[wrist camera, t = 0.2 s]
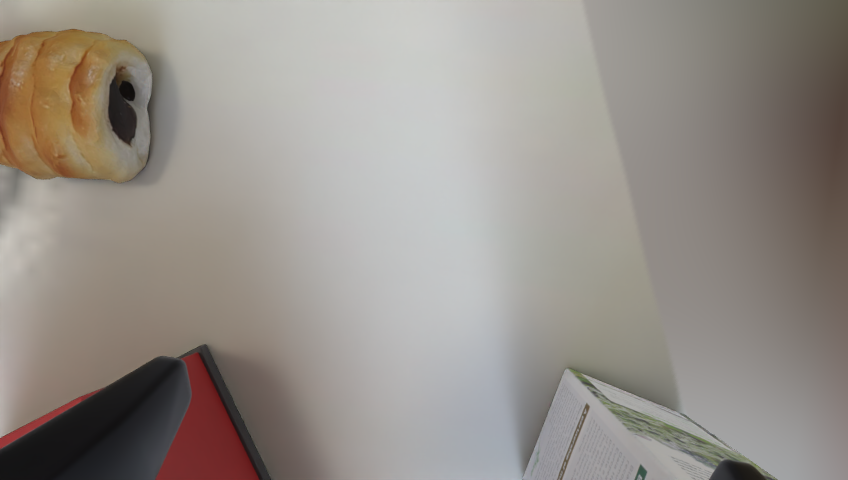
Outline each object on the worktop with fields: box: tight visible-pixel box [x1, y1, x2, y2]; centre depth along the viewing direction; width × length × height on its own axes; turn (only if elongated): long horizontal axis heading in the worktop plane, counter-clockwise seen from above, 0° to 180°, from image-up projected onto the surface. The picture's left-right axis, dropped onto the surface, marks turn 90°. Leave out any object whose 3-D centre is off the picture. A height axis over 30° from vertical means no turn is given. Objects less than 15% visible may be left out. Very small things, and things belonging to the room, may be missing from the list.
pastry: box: [0, 29, 153, 183], centre depth 23 cm, size 9×7×4 cm
